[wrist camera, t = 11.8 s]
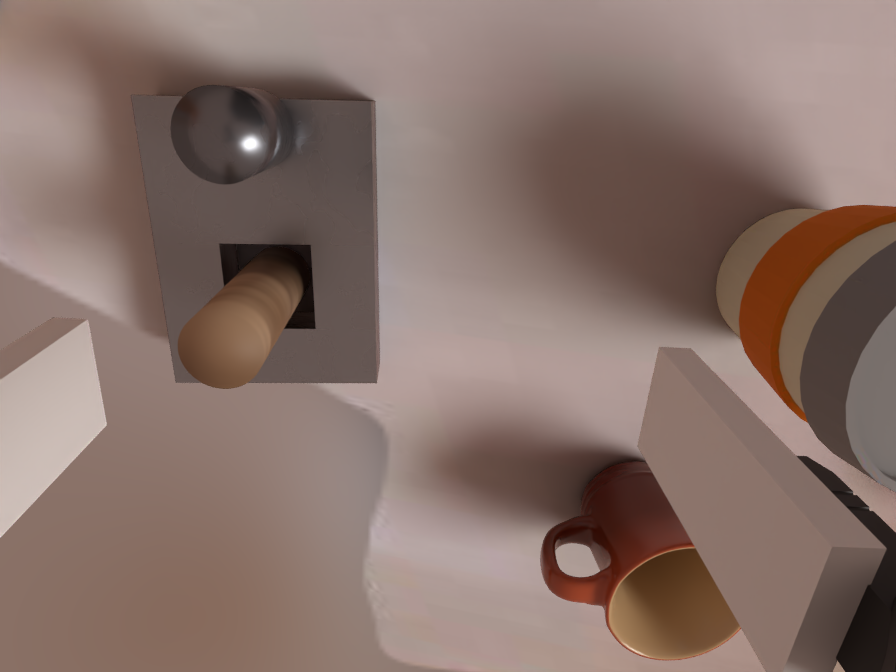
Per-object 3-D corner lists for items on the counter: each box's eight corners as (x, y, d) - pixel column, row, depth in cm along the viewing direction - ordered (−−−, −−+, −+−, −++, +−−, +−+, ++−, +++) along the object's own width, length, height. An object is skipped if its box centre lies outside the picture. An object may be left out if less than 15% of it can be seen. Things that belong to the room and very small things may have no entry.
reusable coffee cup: (672, 366, 41) (805, 507, 27) (707, 175, 36) (890, 223, 22) (852, 368, 41) (1072, 506, 27) (909, 180, 37) (1210, 231, 23)
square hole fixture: (153, 85, 33) (63, 81, 24) (375, 91, 33) (360, 89, 25) (193, 362, 39) (131, 434, 30) (379, 362, 39) (369, 434, 31)
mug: (696, 448, 43) (774, 547, 34) (670, 546, 46) (735, 662, 37) (530, 441, 42) (563, 541, 33) (516, 541, 45) (541, 659, 36)
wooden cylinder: (248, 245, 36) (172, 310, 25) (309, 247, 36) (260, 312, 25) (252, 301, 38) (182, 387, 26) (310, 303, 38) (265, 389, 27)
